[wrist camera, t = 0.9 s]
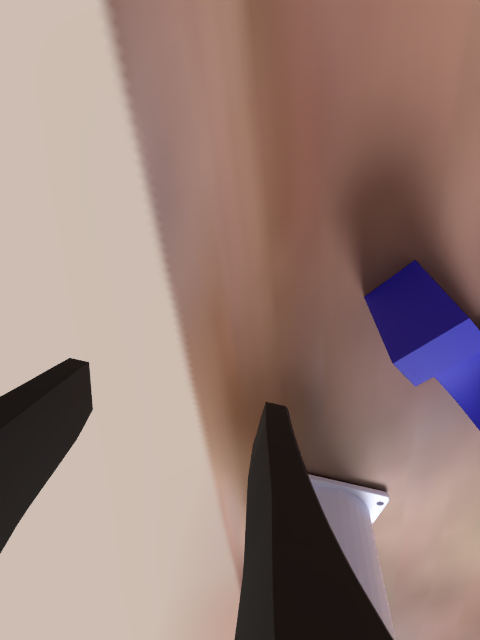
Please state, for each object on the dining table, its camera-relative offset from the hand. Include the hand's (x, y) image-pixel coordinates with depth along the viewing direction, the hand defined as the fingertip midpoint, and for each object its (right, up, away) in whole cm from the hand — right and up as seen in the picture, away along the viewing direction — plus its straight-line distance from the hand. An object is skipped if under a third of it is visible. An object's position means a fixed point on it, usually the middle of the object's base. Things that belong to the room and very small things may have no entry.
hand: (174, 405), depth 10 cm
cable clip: (+15, +2, +8) cm, 17 cm away
